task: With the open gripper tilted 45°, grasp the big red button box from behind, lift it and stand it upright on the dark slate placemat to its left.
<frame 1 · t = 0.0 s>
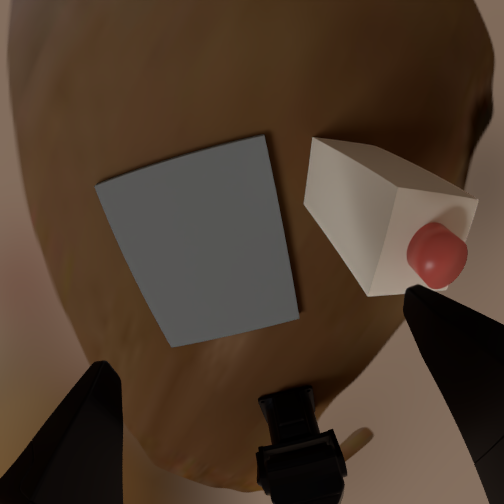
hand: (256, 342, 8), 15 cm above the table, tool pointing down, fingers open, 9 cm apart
big red button box: (340, 174, 21), on the table
placemat: (207, 257, 24), on the table
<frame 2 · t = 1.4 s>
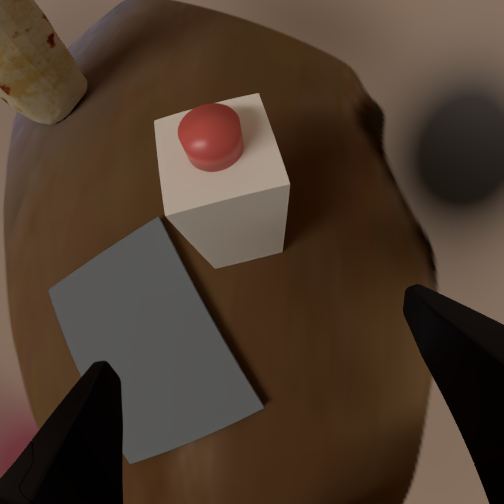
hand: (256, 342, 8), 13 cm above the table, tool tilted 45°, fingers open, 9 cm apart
big red button box: (240, 228, 23), on the table
placemat: (140, 347, 21), on the table
food model: (60, 108, 28), on the table
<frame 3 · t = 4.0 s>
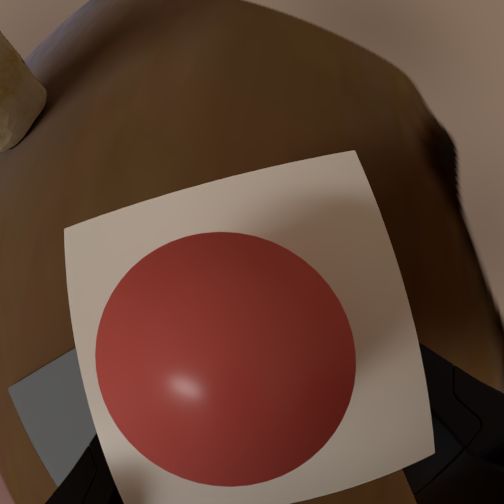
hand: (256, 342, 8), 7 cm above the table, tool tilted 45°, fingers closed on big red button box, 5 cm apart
big red button box: (263, 334, 15), on the table, touching gripper
placemat: (129, 477, 13), on the table
food model: (16, 128, 20), on the table
when the fingers open (8 cm above the table, at t = 8.4 s): big red button box stays where it is, resting on placemat.
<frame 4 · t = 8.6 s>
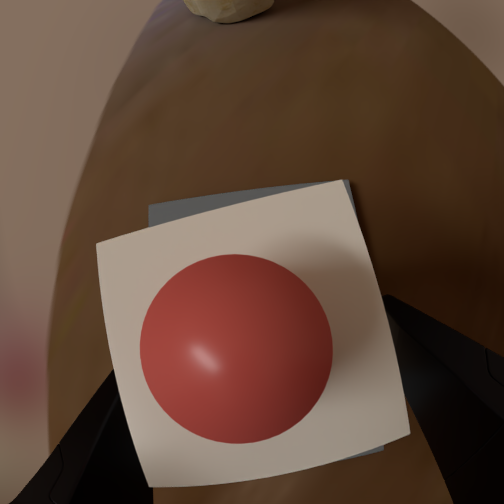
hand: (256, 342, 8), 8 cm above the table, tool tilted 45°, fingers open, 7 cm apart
big red button box: (264, 336, 16), point 1 cm above the table, touching placemat
placemat: (263, 332, 16), on the table
food model: (227, 13, 24), on the table
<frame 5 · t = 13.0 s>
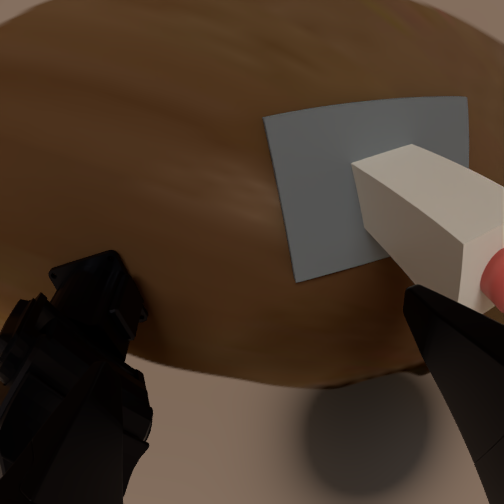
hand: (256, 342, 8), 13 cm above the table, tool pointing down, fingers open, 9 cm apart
big red button box: (388, 186, 20), point 1 cm above the table, touching placemat
placemat: (387, 182, 20), on the table
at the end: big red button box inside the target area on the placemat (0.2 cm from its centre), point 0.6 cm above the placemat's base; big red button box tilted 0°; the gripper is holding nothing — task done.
